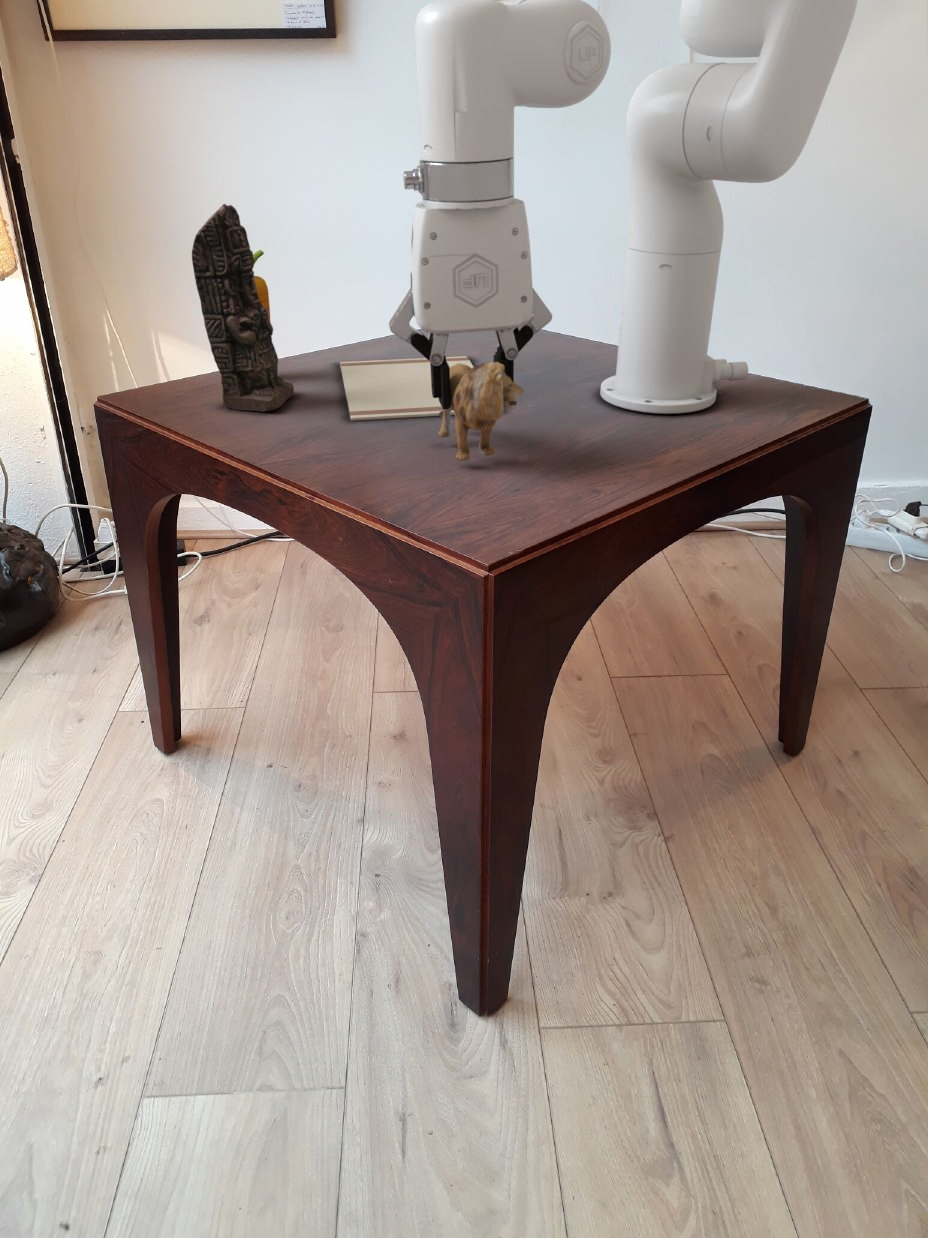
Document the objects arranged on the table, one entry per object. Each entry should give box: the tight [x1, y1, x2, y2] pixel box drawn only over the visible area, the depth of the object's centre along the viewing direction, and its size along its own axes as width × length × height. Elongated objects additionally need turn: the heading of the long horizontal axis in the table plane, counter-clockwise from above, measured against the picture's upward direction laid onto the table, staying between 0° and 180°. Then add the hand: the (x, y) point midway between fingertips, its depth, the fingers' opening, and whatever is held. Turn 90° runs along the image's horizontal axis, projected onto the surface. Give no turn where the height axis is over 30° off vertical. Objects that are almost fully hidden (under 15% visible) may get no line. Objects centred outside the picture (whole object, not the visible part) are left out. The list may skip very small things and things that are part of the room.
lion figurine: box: [437, 361, 525, 462], centre depth 83 cm, size 15×5×9 cm, turn 23°
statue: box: [191, 203, 295, 412], centre depth 94 cm, size 7×7×20 cm
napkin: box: [339, 355, 475, 422], centre depth 105 cm, size 16×22×1 cm
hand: (472, 400), depth 83 cm, fingers closed on lion figurine, 4 cm apart
